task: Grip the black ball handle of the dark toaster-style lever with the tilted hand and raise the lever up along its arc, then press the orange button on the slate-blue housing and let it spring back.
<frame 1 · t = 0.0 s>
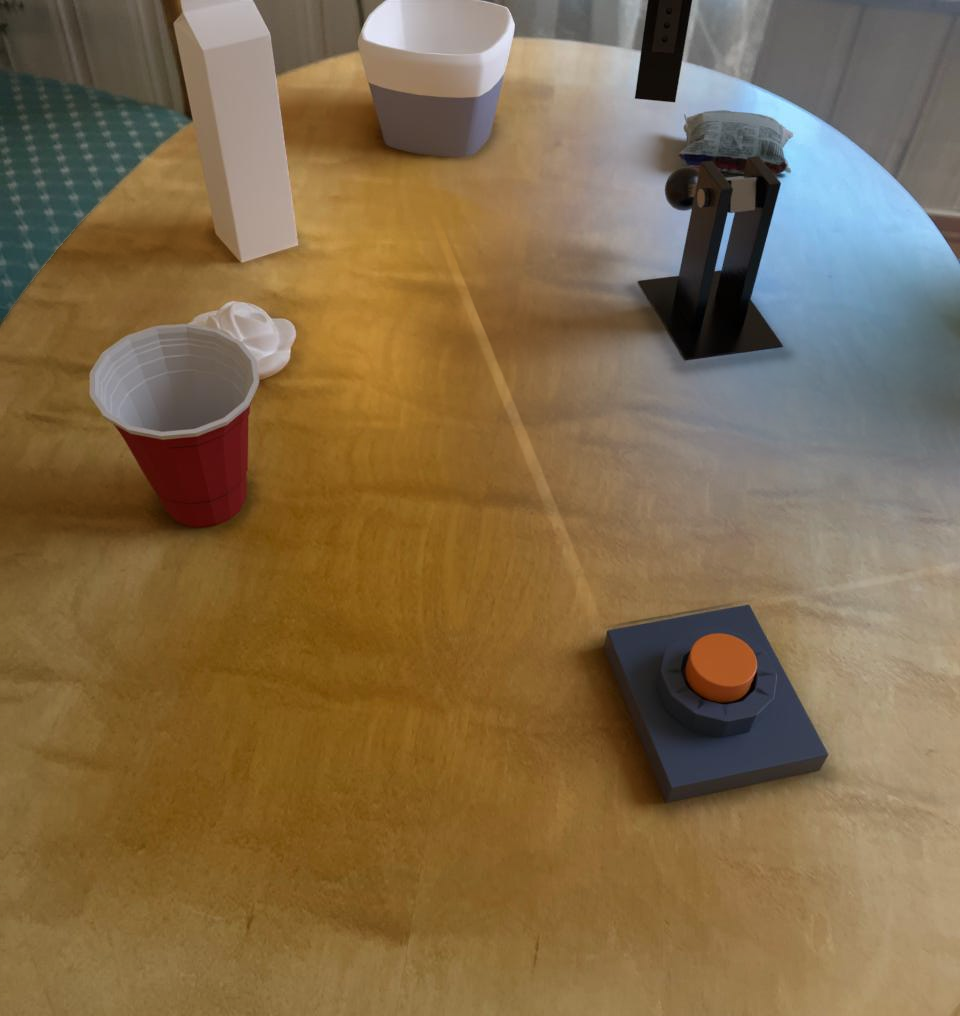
hand: (660, 56, 72), 22 cm above the table, tool pointing down, fingers open, 13 cm apart
plastic cup: (209, 506, 75), on the table
packaged food: (730, 164, 108), on the table
bracket: (705, 323, 90), on the table
lever: (708, 191, 85), point 10 cm above the table, hinge at -25.0°
button box: (706, 709, 64), on the table
rose: (244, 356, 86), on the table
button: (720, 667, 61), point 4 cm above the table, slide at 0.1 cm
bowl: (438, 135, 111), on the table
milk: (257, 244, 97), on the table
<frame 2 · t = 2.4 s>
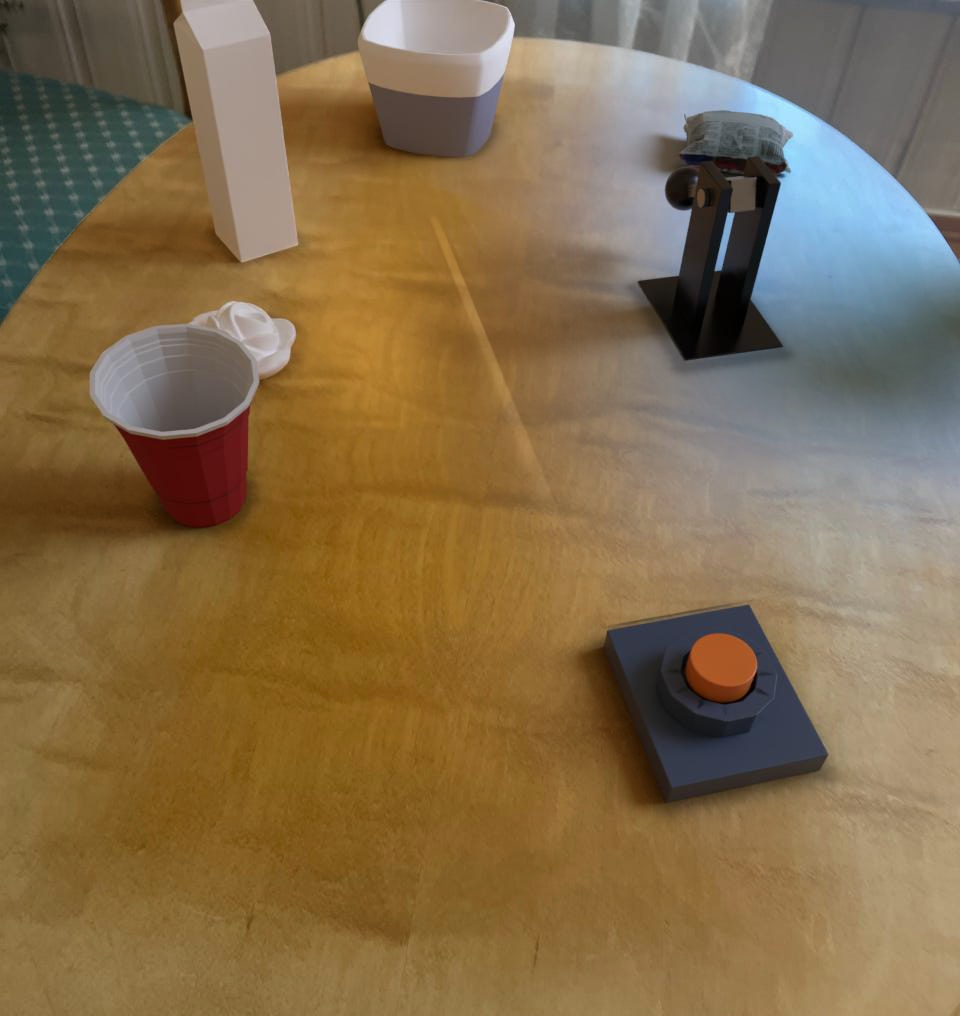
nothing on the table moved.
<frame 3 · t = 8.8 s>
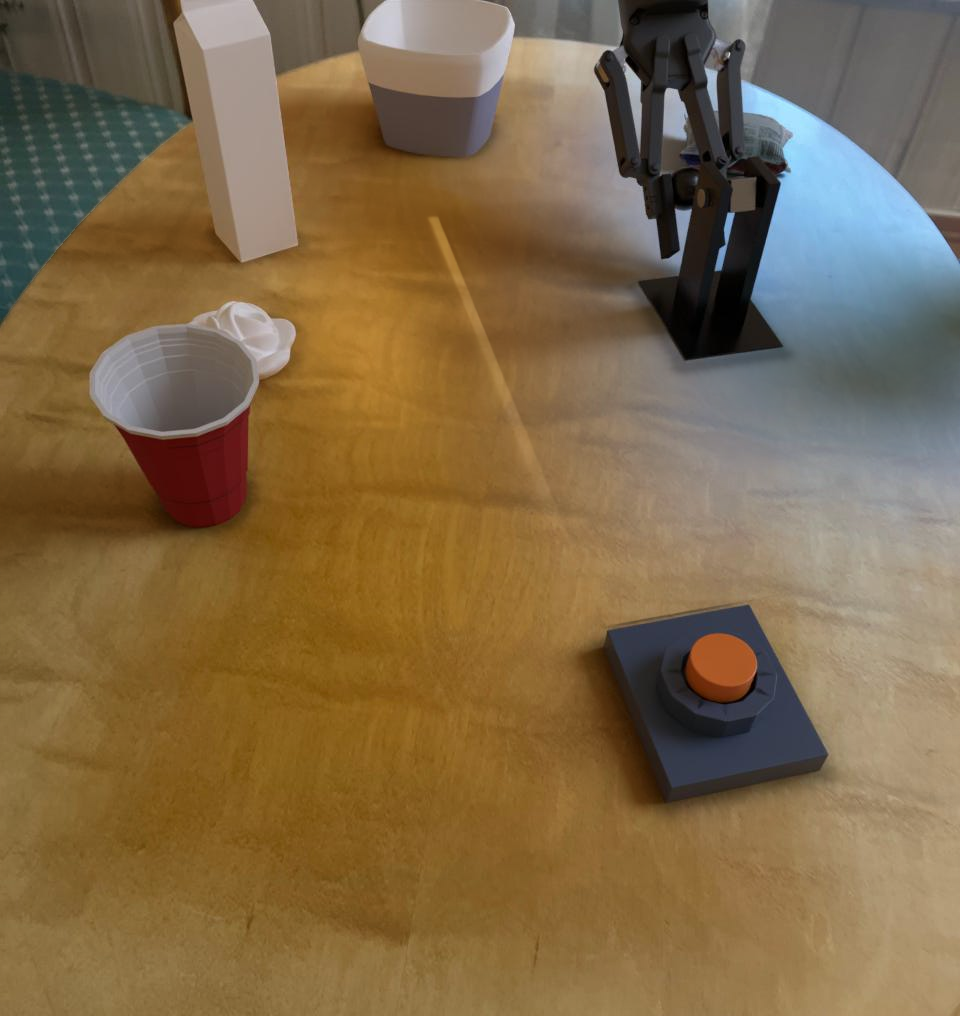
hand: (693, 251, 90), 4 cm above the table, tool tilted 45°, fingers closed on lever, 4 cm apart
lever: (708, 191, 85), point 10 cm above the table, hinge at -25.0°, touching gripper
everything else where it was.
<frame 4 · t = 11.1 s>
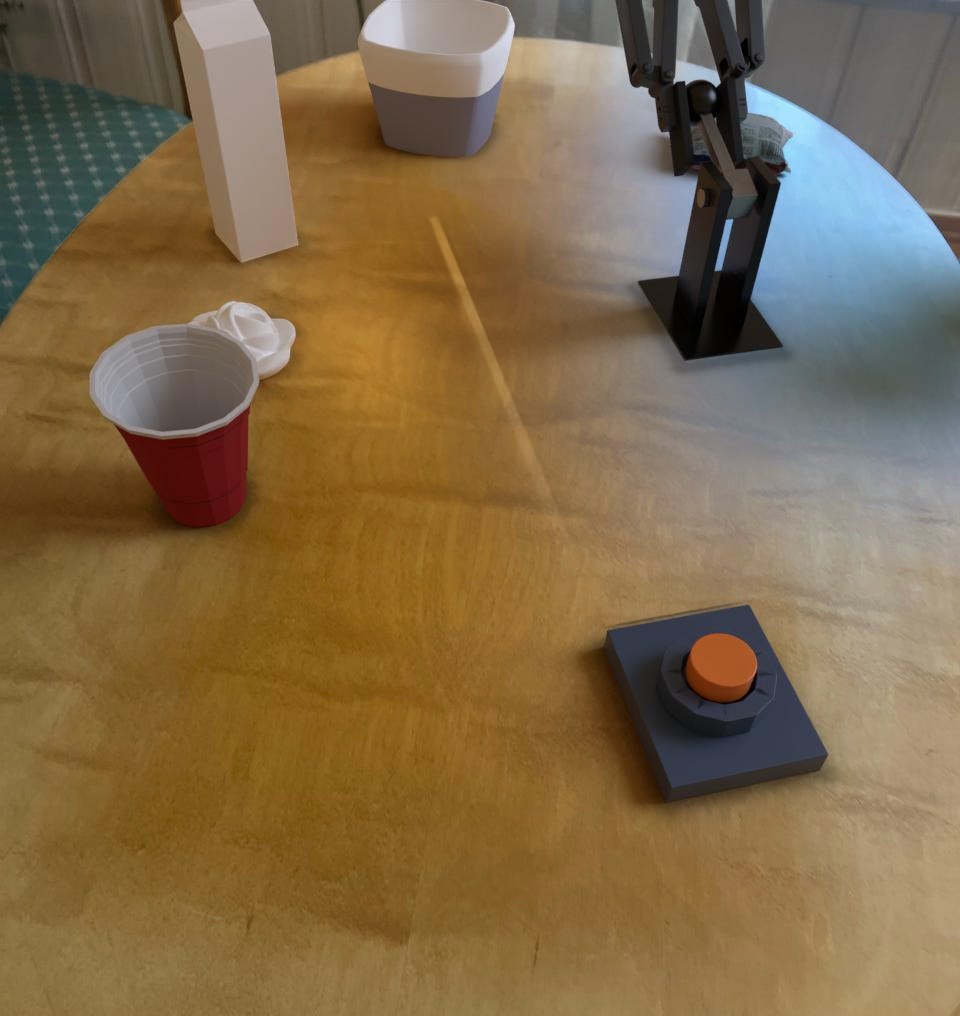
hand: (708, 167, 84), 11 cm above the table, tool tilted 45°, fingers closed on lever, 4 cm apart
lever: (715, 146, 82), point 13 cm above the table, hinge at 16.3°, touching gripper
everything else where it was.
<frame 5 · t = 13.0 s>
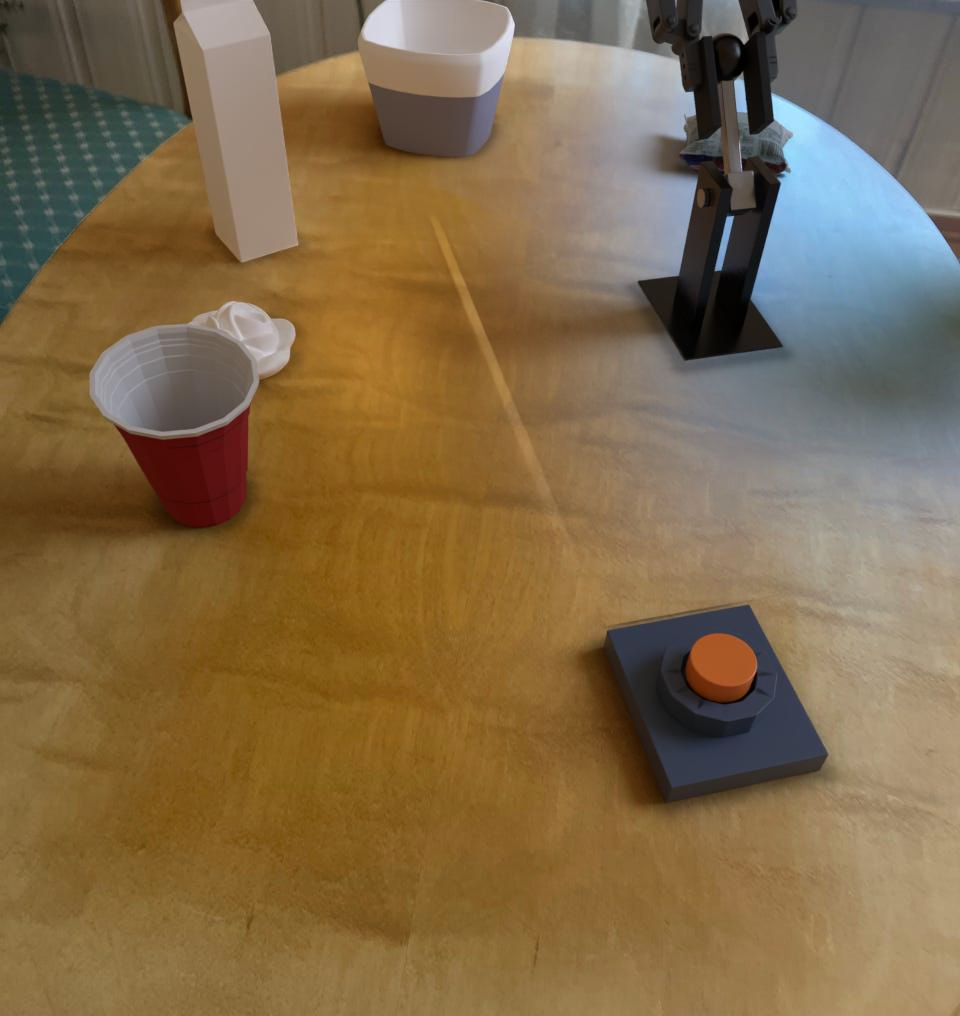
hand: (736, 129, 79), 16 cm above the table, tool tilted 45°, fingers closed on lever, 4 cm apart
lever: (729, 125, 79), point 16 cm above the table, hinge at 47.6°, touching gripper
everything else where it was.
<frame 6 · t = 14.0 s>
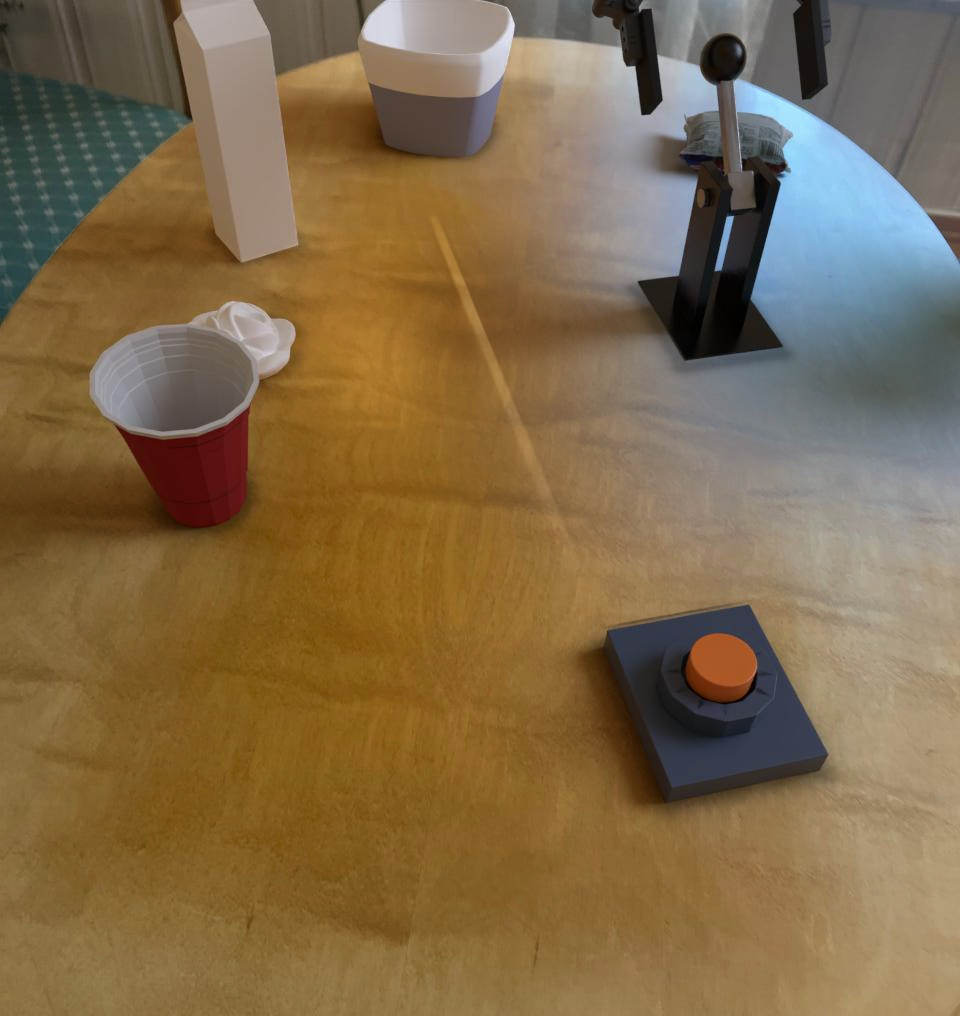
hand: (734, 100, 78), 18 cm above the table, tool tilted 45°, fingers open, 13 cm apart
lever: (729, 125, 79), point 16 cm above the table, hinge at 47.6°
everything else where it was.
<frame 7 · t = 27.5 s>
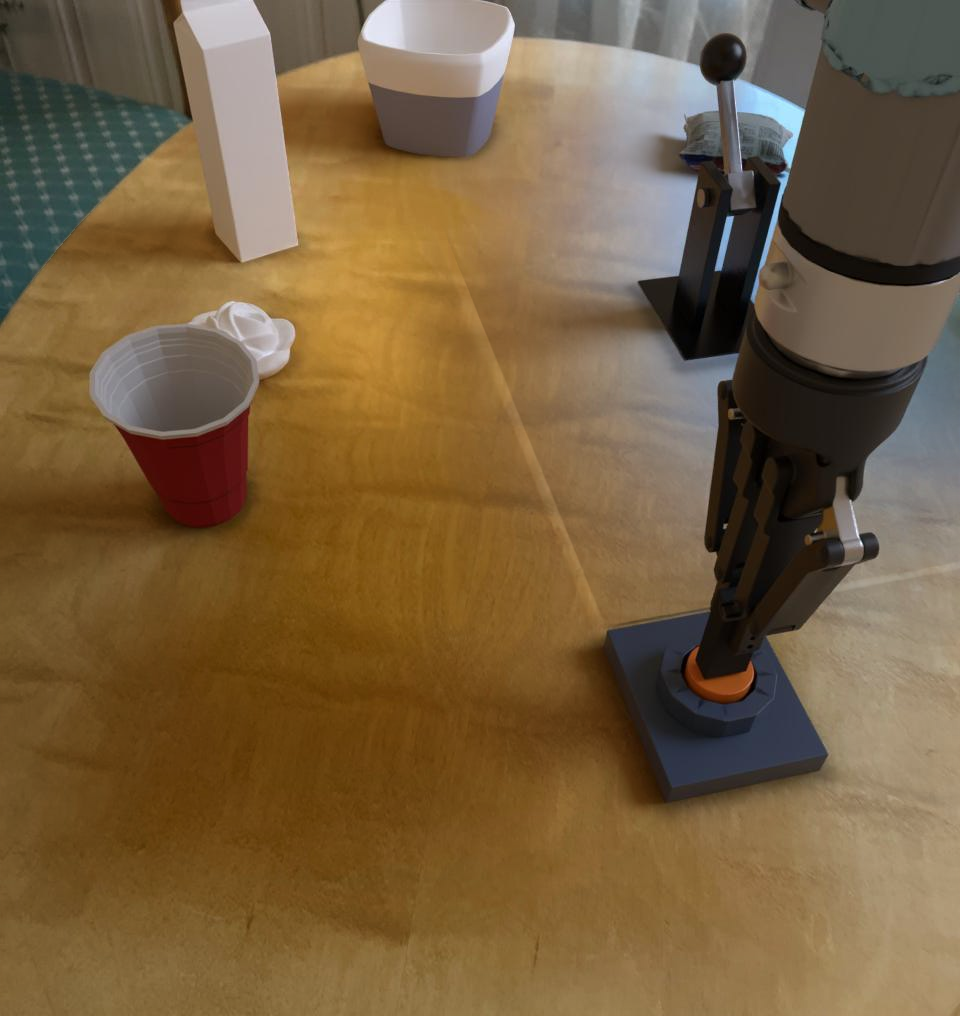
hand: (720, 665, 60), 5 cm above the table, tool pointing down, fingers closed
button: (717, 675, 61), point 4 cm above the table, slide at -0.7 cm, touching gripper
everything else where it was.
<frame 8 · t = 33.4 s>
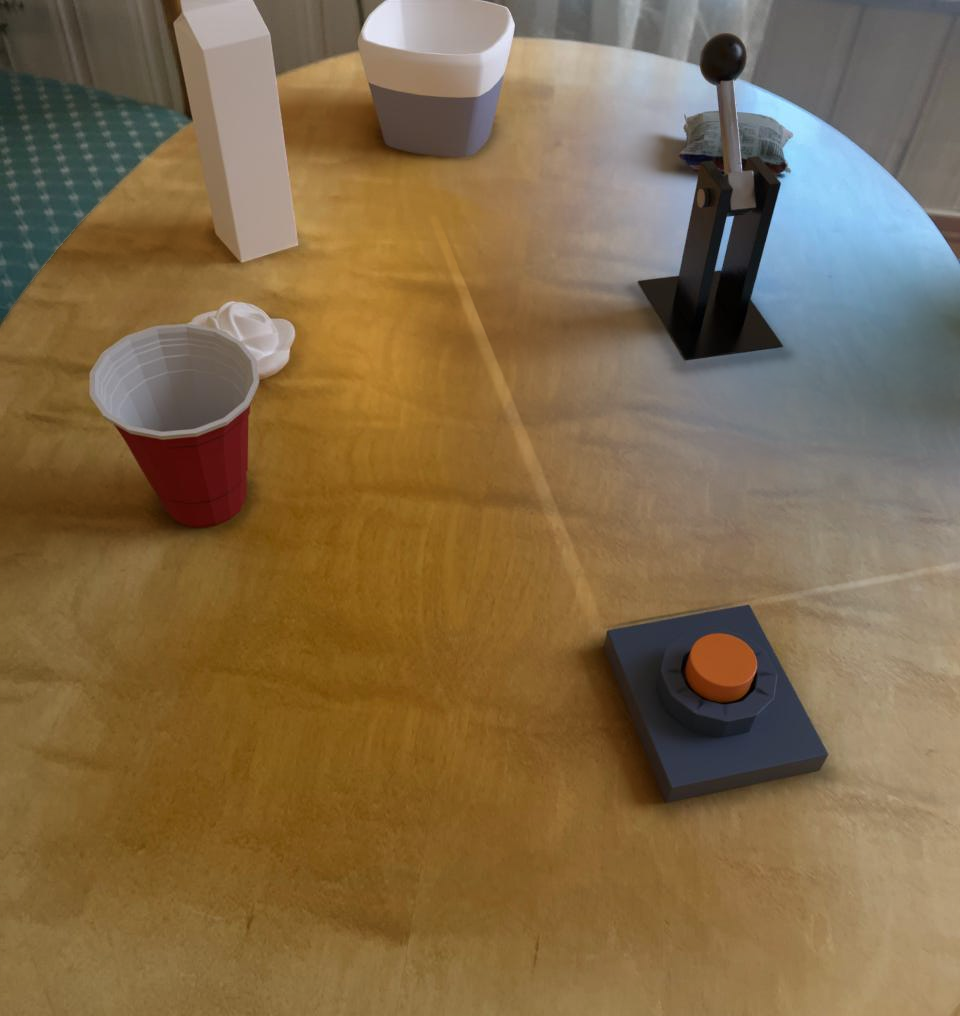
button: (720, 667, 61), point 4 cm above the table, slide at 0.1 cm
everything else where it was.
at the end: lever at +48° (first picture: -25°); button pushed in 1.0 cm at the most during the clip, back to where it started at the end; button slide at 0.1 cm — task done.
